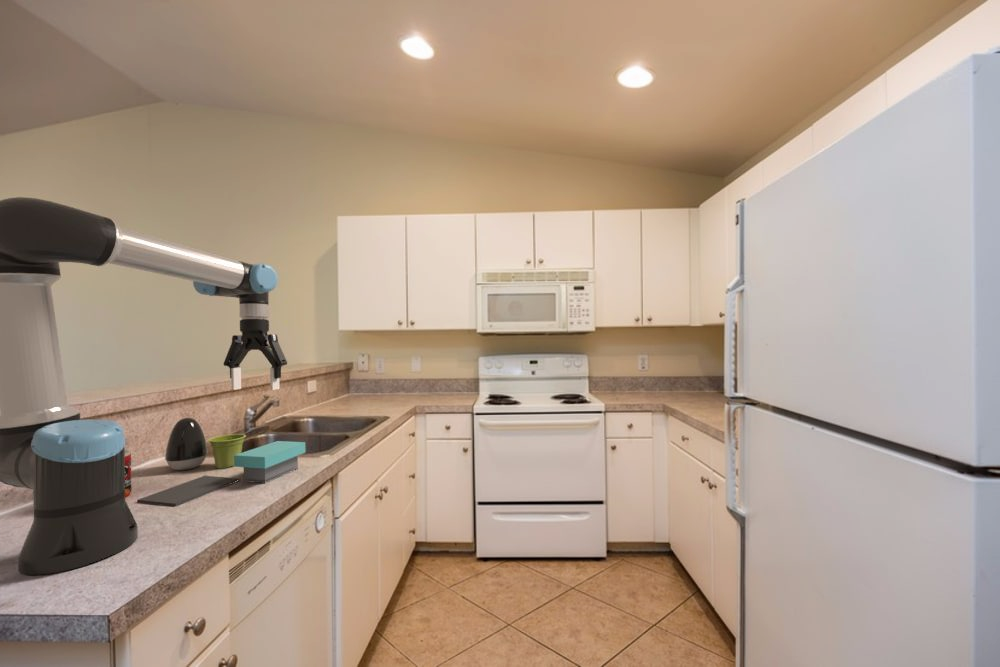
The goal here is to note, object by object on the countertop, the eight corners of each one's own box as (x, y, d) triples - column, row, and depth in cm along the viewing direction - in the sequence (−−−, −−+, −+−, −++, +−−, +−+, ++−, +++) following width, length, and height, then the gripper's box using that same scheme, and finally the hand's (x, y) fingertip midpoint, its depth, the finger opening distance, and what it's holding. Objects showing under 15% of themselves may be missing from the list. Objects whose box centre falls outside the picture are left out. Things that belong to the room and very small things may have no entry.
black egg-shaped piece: (206, 460, 130) (205, 413, 130) (209, 467, 122) (208, 417, 122) (165, 467, 124) (164, 417, 124) (165, 475, 116) (164, 422, 116)
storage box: (297, 468, 119) (297, 448, 119) (265, 483, 108) (264, 460, 108) (278, 467, 121) (277, 447, 121) (243, 481, 109) (243, 459, 109)
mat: (176, 506, 94) (176, 503, 94) (137, 502, 97) (137, 499, 97) (239, 480, 110) (239, 478, 110) (204, 477, 113) (204, 475, 113)
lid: (305, 452, 120) (305, 442, 120) (265, 468, 106) (264, 457, 106) (277, 450, 123) (277, 441, 123) (234, 466, 108) (233, 455, 108)
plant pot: (220, 461, 128) (219, 434, 128) (251, 460, 129) (251, 433, 129) (202, 471, 119) (201, 442, 119) (236, 469, 120) (235, 440, 120)
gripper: (299, 318, 122) (300, 388, 122) (230, 320, 127) (231, 387, 127) (281, 316, 115) (282, 391, 115) (208, 319, 120) (209, 390, 120)
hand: (255, 389), depth 121 cm, fingers open, 13 cm apart
